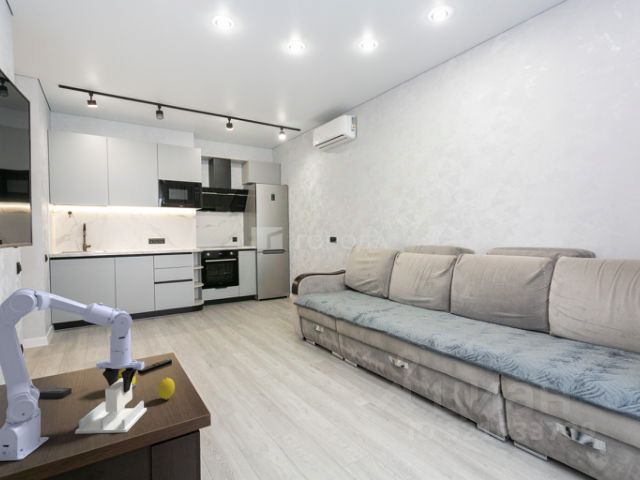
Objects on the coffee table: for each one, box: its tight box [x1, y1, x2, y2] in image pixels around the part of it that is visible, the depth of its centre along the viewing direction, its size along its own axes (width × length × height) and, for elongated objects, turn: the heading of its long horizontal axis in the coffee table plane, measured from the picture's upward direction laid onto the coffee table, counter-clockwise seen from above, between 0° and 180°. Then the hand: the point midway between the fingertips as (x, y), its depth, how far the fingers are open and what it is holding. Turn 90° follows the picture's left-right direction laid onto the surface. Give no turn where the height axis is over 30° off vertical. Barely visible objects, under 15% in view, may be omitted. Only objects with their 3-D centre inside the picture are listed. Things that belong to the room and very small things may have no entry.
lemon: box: [157, 377, 176, 401], centre depth 120 cm, size 6×6×8 cm
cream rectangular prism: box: [104, 378, 133, 412], centre depth 105 cm, size 4×8×7 cm, turn 179°
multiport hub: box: [38, 387, 73, 399], centre depth 123 cm, size 4×11×2 cm, turn 89°
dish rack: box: [74, 400, 148, 435], centre depth 105 cm, size 13×15×4 cm
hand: (120, 391), depth 106 cm, fingers closed on cream rectangular prism, 3 cm apart
